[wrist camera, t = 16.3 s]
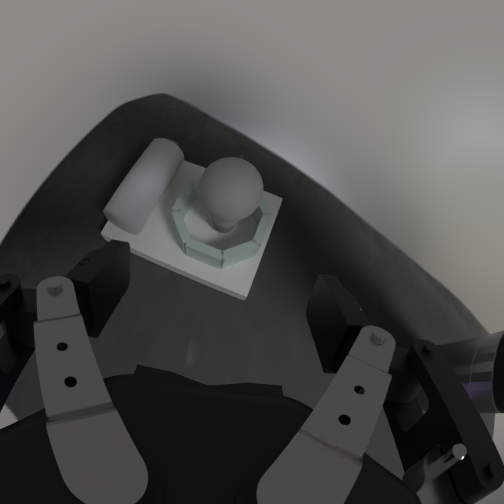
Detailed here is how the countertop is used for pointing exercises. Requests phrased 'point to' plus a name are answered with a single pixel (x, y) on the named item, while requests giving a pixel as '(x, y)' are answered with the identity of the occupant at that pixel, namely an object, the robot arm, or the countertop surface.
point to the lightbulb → (230, 191)
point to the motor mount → (185, 222)
